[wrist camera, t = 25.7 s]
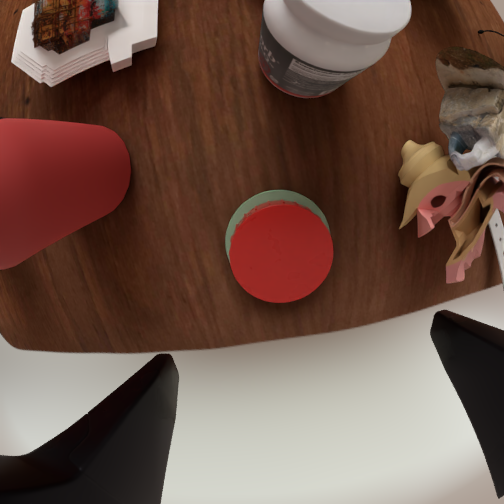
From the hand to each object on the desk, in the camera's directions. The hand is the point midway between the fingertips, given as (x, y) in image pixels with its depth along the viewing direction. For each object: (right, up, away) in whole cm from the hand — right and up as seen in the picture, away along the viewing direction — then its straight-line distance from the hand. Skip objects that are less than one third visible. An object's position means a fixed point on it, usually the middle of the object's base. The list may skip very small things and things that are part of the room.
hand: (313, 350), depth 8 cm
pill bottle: (+1, +15, +6) cm, 17 cm away
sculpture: (+12, +12, +1) cm, 17 cm away
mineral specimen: (-13, +20, +5) cm, 25 cm away
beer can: (-13, +9, +9) cm, 18 cm away
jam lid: (0, +3, +9) cm, 9 cm away
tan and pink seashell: (+12, +8, +9) cm, 17 cm away
